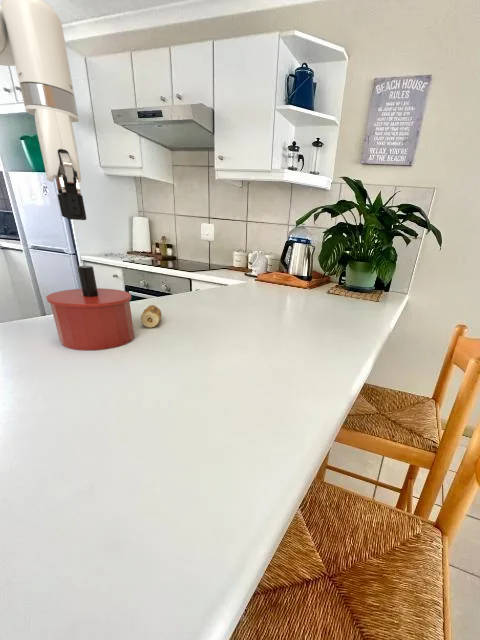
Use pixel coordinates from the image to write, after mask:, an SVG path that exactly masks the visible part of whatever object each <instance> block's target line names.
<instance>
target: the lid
mask: <svg viewBox="0 0 480 640" xmlns="http://www.w3.org/2000/svg"><path fill="white" fill-rule="evenodd" d="M76 268H77V272H78V277H79V282H80V286H81V288H73V289H72V288H71V289H65V290H58V291H55V292H52V293H49V294H48V295H47V296H46V298H45V299H46V301H47V302H48V303H49V304H50V303H51V304H53V305H58V306H64V307H103V306H112V305H117V304H121V303H125V302H127V301H129V302H130V301H132V294H131V293H130V292H128V291H126V290H125V291H124V290H120V289H115V288H99V287H98V286H97V282H96V281H97V279H96V275H95V271H94V266H92V265H78V266H76ZM51 304H50V305H51Z"/></svg>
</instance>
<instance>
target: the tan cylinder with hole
mask: <svg viewBox="0 0 480 640" xmlns="http://www.w3.org/2000/svg"><path fill="white" fill-rule="evenodd" d="M161 319H162V311H161V309H160V308H159V307H158V306H156V305H154V304H150V305H148V306H147V308H145V309H144V310H143V312H142V314H141V315H140V321H141V323H142V325H144V327H145V328H154V327H156V326H158V325H159V323H160V321H161Z"/></svg>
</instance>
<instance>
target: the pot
mask: <svg viewBox="0 0 480 640" xmlns="http://www.w3.org/2000/svg"><path fill="white" fill-rule="evenodd" d="M49 304H50V308H51V312H52V315H53V319H54V323H55V328H56V331H57V335H58V339H59V342H60V343H61V345H62V346H63V347H65V348H67V349H71V350H77V351H100V350H101V351H102V350H109V349H115V348H119V347H122V346H125V345H128V344H130V343H131V342H133V341H134V339H135V331H134V323H133V317H132V309H131V302H130V300H129V301H127V302H125V303H121V304H117V305H112V306H103V307H64V306H58V305H53V304H51V303H49Z"/></svg>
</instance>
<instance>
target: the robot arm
mask: <svg viewBox="0 0 480 640" xmlns="http://www.w3.org/2000/svg"><path fill="white" fill-rule="evenodd" d="M68 57H69V56H68V52H67V45H66V40H65V34H64V28H63V24H62V21H61V19H60V17H59V15H58V13H57V12H56V10H55V9H54V8H52V6H51V5H49V4H48V3H46V2H45V1H43V0H1V4H0V66H4V67H5V66H6V67H14V66H15V70H16V75H17V79H18V82H19V87H20V92H21V97H22V101H23V106H24V109H25V112H26V113H28V114H30V115H32V116H34V121H35V129H36V135H37V140H38V143H39V149H40V152H41V157H42V161H43V166H44V171H45V175H46V176H45V177H46V180H47V181H48V182H49V183H53V182H54V179H55V184H56V190H57V195H56V196H57V200H58V205H59V209H60V213H61V217H63V218H66V220H72V221H73V220H76V221H86V220H87V214H86V209H85V208H86V207H85V203H84V197H83V195H82V192H81V188H80V183H81V181H82V175H81V167H80V160H79V154H78V149H77V143H76V137H75V132H74V128H73V123H78V122H79V120H80V119H79V114H78V108H77V103H76V97H75V93H74V86H73V81H72V76H71V75H72V74H71V69H70V62H69V58H68Z"/></svg>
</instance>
